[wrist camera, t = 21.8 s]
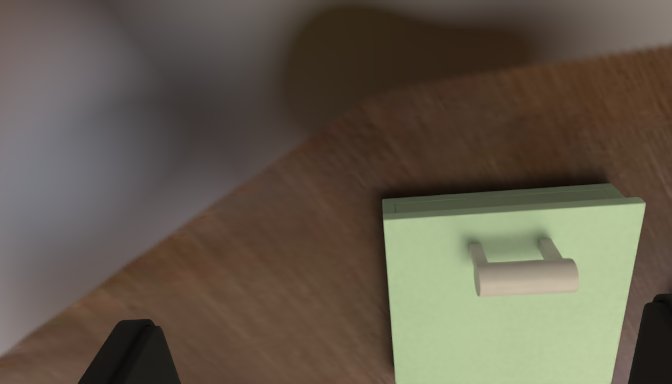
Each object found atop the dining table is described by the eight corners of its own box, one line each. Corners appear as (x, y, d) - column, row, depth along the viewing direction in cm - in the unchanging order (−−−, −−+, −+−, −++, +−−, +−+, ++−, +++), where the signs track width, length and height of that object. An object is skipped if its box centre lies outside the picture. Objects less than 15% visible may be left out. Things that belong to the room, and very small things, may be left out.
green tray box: (382, 198, 33) (383, 223, 30) (610, 182, 32) (635, 207, 29) (395, 369, 40) (397, 403, 37) (583, 363, 39) (601, 398, 36)
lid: (382, 213, 30) (385, 259, 25) (639, 196, 28) (687, 242, 24) (397, 404, 37) (401, 465, 33) (601, 398, 36) (633, 461, 31)
